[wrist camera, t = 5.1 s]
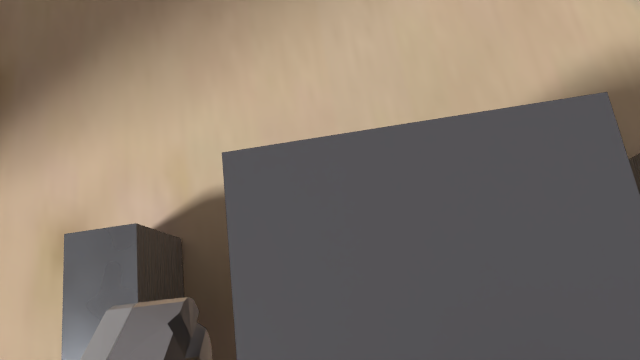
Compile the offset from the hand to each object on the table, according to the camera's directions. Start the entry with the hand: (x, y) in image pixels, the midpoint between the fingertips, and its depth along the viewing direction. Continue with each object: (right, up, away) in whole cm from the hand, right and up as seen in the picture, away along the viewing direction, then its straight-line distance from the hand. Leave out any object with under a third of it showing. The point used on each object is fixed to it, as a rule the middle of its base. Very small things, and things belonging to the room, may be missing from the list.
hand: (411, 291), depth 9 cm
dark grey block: (+1, -2, +5) cm, 6 cm away
